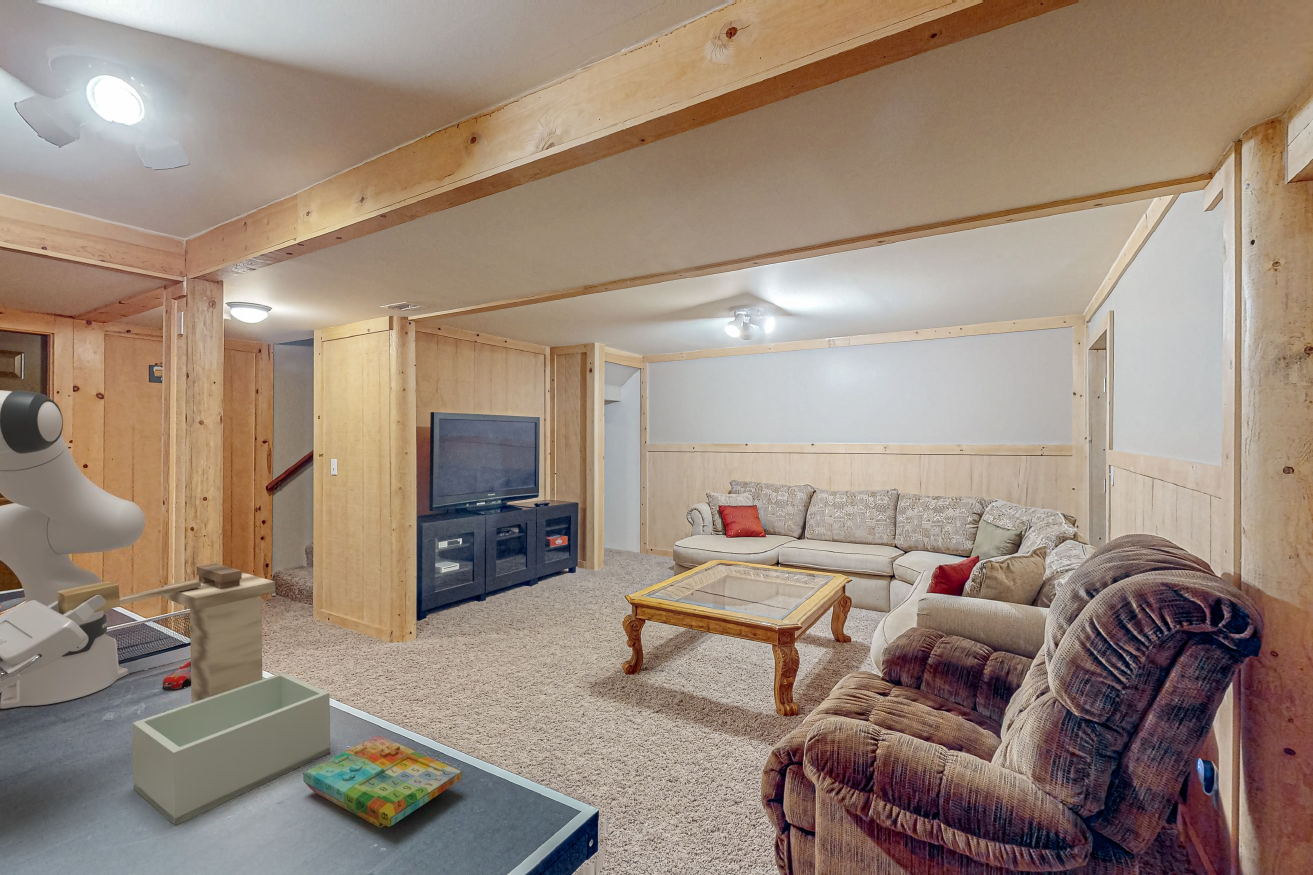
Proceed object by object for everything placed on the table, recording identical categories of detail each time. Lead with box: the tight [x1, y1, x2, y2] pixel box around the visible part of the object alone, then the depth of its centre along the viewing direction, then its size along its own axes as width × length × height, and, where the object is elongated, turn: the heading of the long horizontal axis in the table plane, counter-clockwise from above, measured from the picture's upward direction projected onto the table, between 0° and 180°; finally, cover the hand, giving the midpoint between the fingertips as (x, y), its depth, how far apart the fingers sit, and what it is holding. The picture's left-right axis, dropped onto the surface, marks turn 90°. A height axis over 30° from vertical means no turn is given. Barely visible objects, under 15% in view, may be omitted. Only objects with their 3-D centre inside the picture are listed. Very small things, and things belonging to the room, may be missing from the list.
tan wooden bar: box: [57, 579, 201, 615], centre depth 95 cm, size 4×17×4 cm, turn 148°
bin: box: [132, 672, 331, 826], centre depth 93 cm, size 15×21×10 cm
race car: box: [162, 660, 191, 690], centre depth 127 cm, size 13×5×4 cm, turn 165°
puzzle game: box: [302, 735, 463, 829], centre depth 86 cm, size 12×5×20 cm
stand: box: [161, 563, 276, 703], centre depth 105 cm, size 14×12×29 cm
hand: (96, 594), depth 91 cm, fingers closed on tan wooden bar, 4 cm apart
